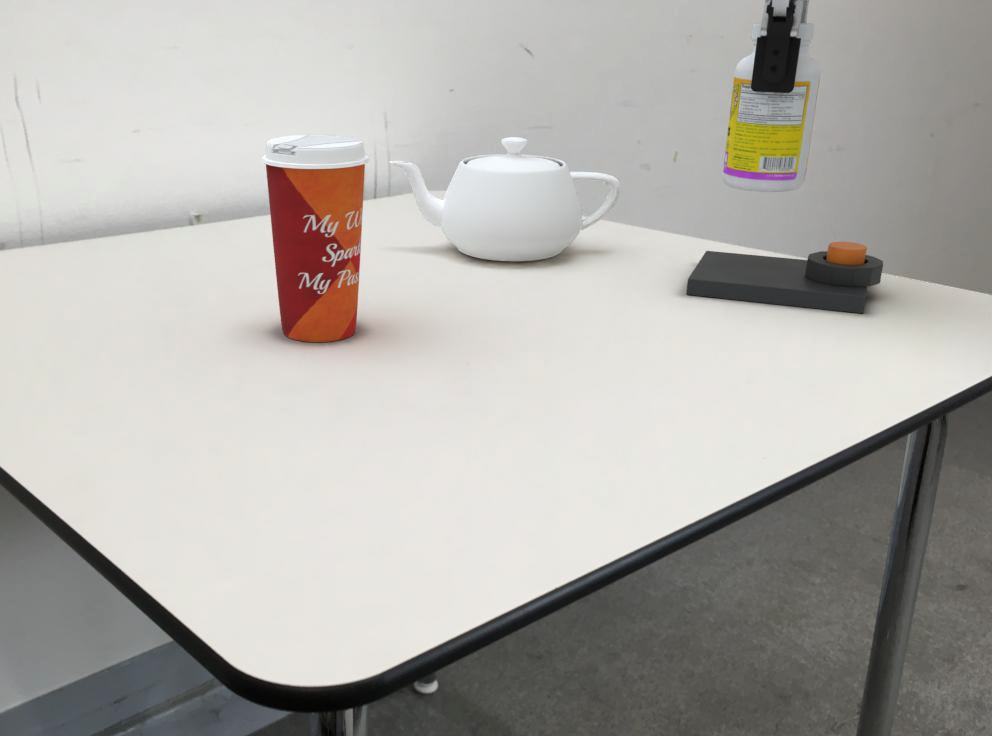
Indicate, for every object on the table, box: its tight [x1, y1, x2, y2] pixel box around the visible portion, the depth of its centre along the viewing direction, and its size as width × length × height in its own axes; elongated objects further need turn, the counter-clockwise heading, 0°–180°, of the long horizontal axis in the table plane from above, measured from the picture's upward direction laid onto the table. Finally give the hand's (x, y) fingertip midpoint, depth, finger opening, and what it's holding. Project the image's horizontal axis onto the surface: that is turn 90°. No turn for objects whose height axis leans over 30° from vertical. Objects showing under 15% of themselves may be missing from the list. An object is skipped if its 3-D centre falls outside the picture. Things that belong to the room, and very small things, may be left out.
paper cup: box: [260, 134, 370, 343], centre depth 80 cm, size 8×8×14 cm
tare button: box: [826, 241, 868, 265], centre depth 92 cm, size 3×3×2 cm
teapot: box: [388, 136, 621, 262], centre depth 104 cm, size 22×14×11 cm, turn 88°
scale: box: [685, 250, 884, 314], centre depth 94 cm, size 15×11×3 cm
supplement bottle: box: [722, 22, 822, 193], centre depth 90 cm, size 7×7×13 cm
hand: (776, 85), depth 89 cm, fingers closed on supplement bottle, 6 cm apart
